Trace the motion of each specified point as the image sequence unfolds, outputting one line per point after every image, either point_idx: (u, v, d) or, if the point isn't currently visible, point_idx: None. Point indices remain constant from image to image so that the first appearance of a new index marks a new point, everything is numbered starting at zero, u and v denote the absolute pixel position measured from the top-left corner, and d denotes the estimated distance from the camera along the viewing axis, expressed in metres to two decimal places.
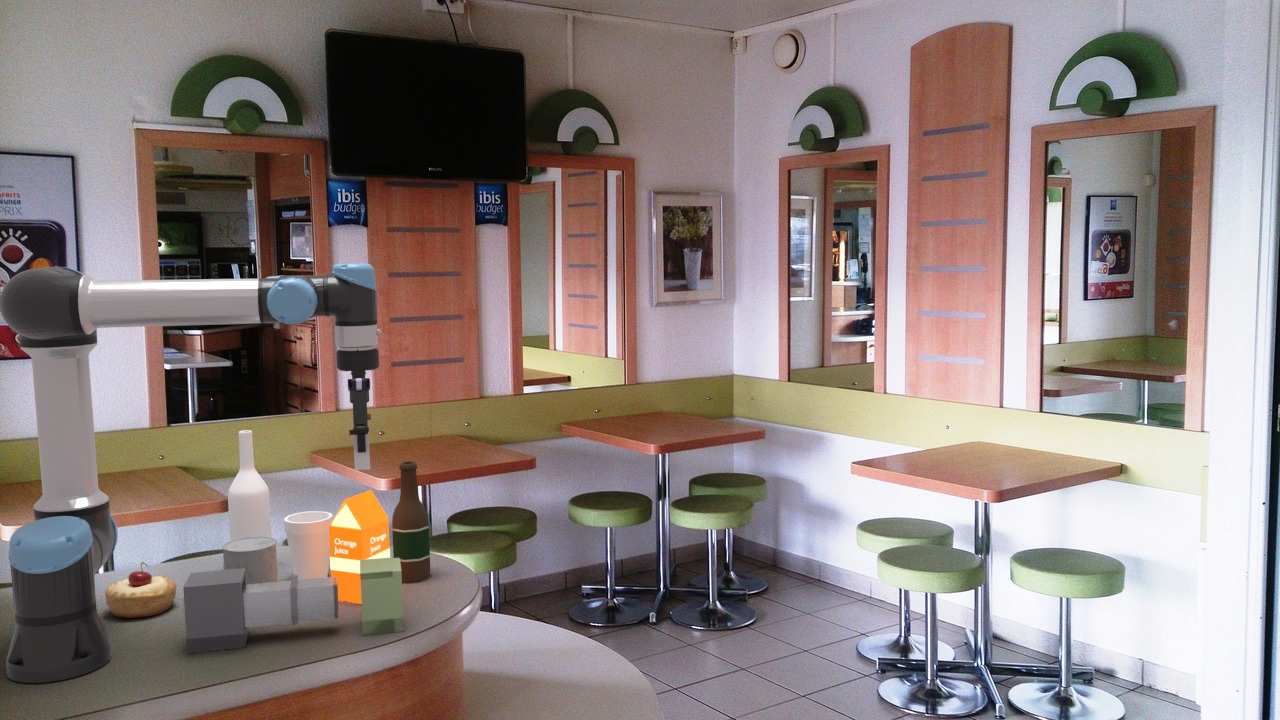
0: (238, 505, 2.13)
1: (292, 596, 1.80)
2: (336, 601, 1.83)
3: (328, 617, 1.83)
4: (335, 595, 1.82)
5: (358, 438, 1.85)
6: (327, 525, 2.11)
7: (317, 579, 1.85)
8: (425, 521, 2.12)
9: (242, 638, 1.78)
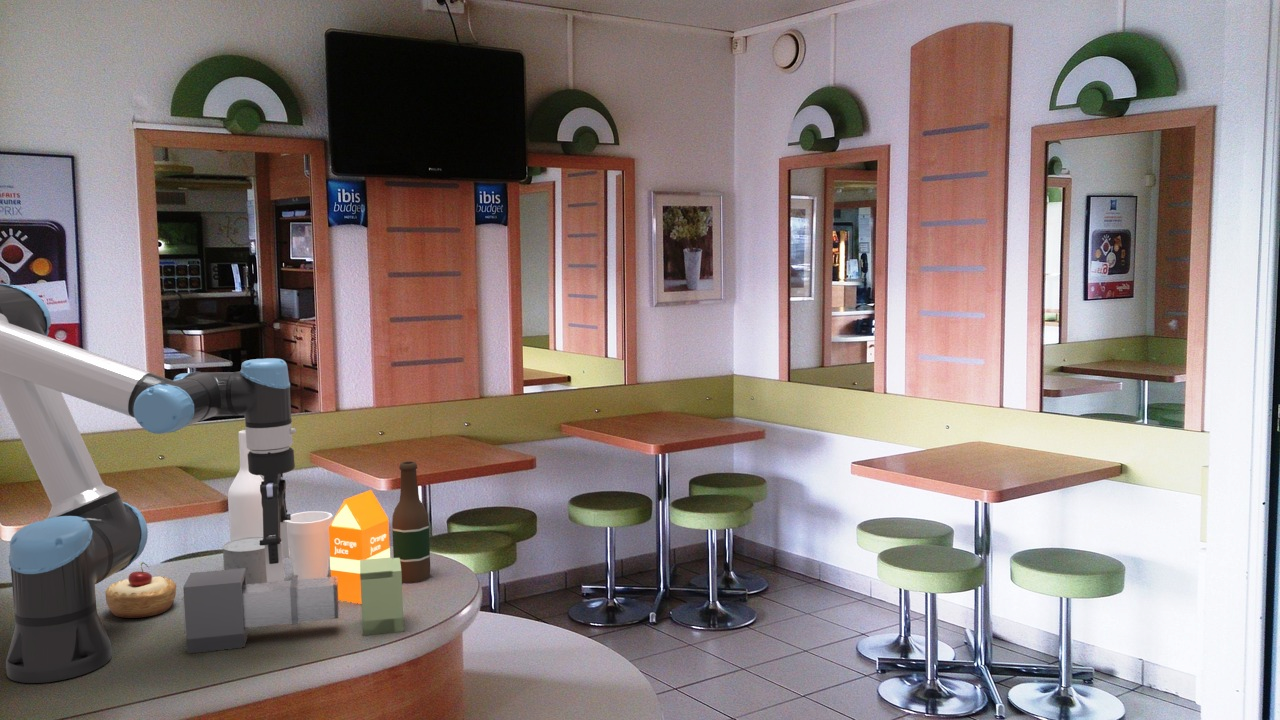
0: (238, 505, 2.13)
1: (292, 596, 1.80)
2: (336, 601, 1.83)
3: (328, 617, 1.83)
4: (335, 595, 1.82)
5: (269, 549, 1.73)
6: (327, 525, 2.11)
7: (317, 579, 1.85)
8: (425, 521, 2.12)
9: (242, 638, 1.78)
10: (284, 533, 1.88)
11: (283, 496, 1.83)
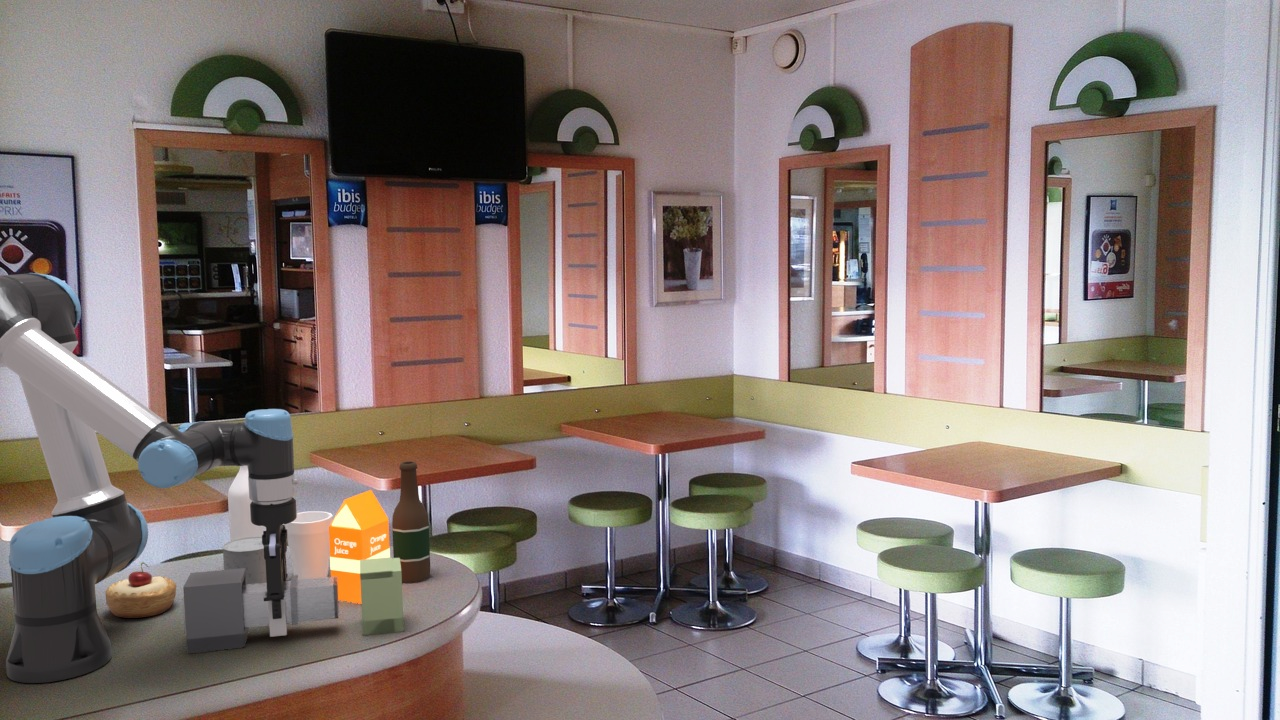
0: (238, 505, 2.13)
1: (292, 596, 1.80)
2: (336, 601, 1.83)
3: (328, 617, 1.83)
4: (335, 595, 1.82)
5: (273, 604, 1.78)
6: (327, 525, 2.11)
7: (317, 579, 1.85)
8: (425, 521, 2.12)
9: (242, 638, 1.78)
10: None
11: (284, 549, 1.83)
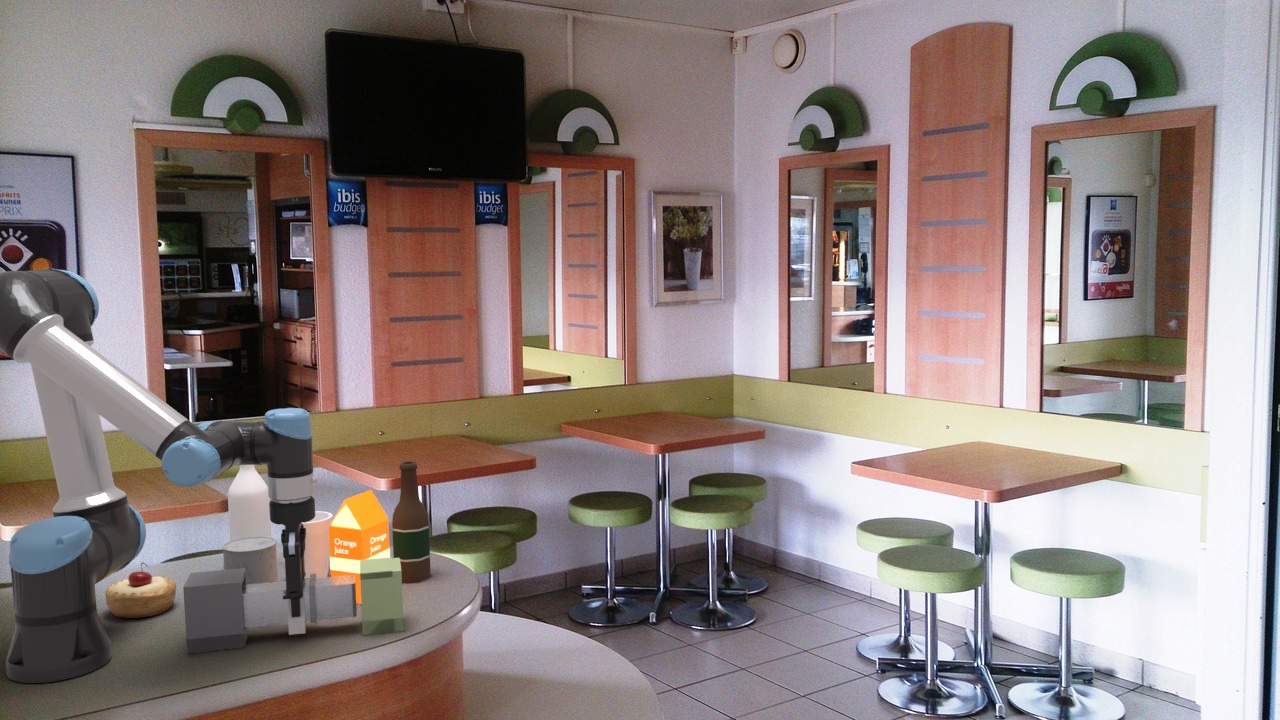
0: (238, 505, 2.13)
1: (311, 594, 1.80)
2: (354, 599, 1.83)
3: (347, 615, 1.83)
4: (353, 593, 1.83)
5: (292, 603, 1.79)
6: (327, 525, 2.11)
7: (335, 577, 1.86)
8: (425, 521, 2.12)
9: (242, 638, 1.78)
10: None
11: None
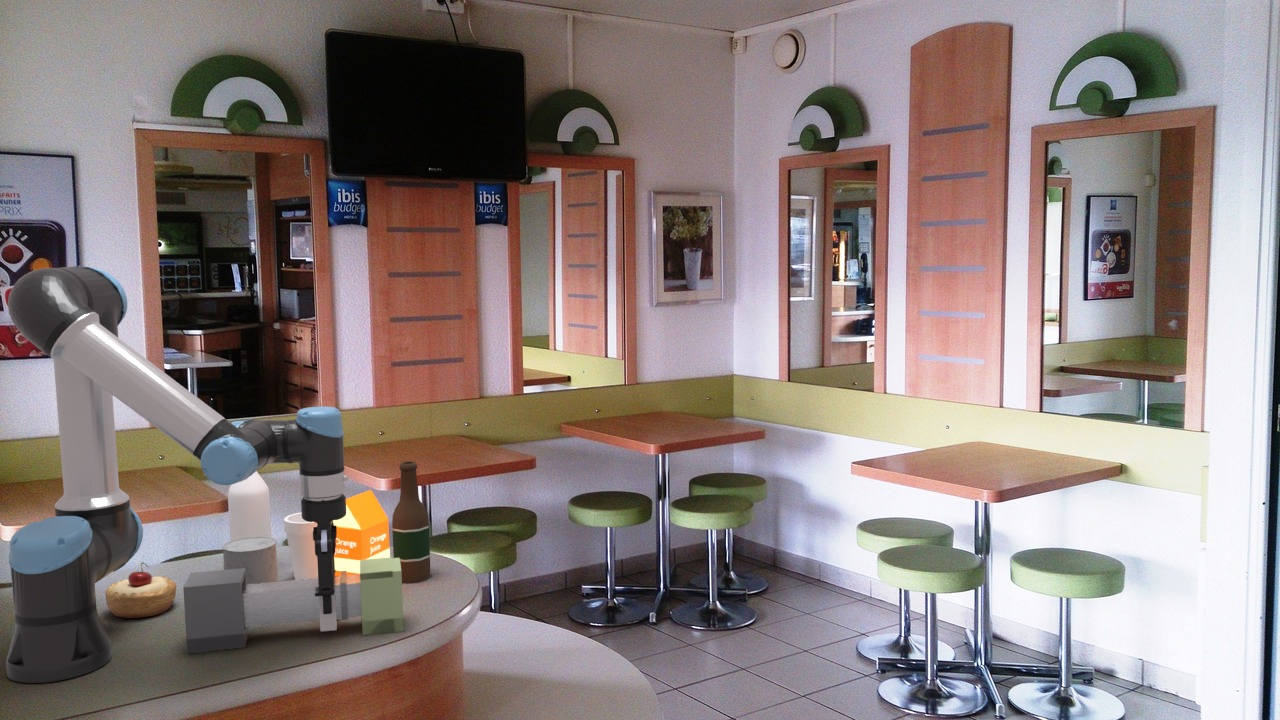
0: (238, 505, 2.13)
1: (342, 591, 1.82)
2: None
3: None
4: None
5: (324, 600, 1.80)
6: None
7: None
8: (425, 521, 2.12)
9: (242, 638, 1.78)
10: None
11: None
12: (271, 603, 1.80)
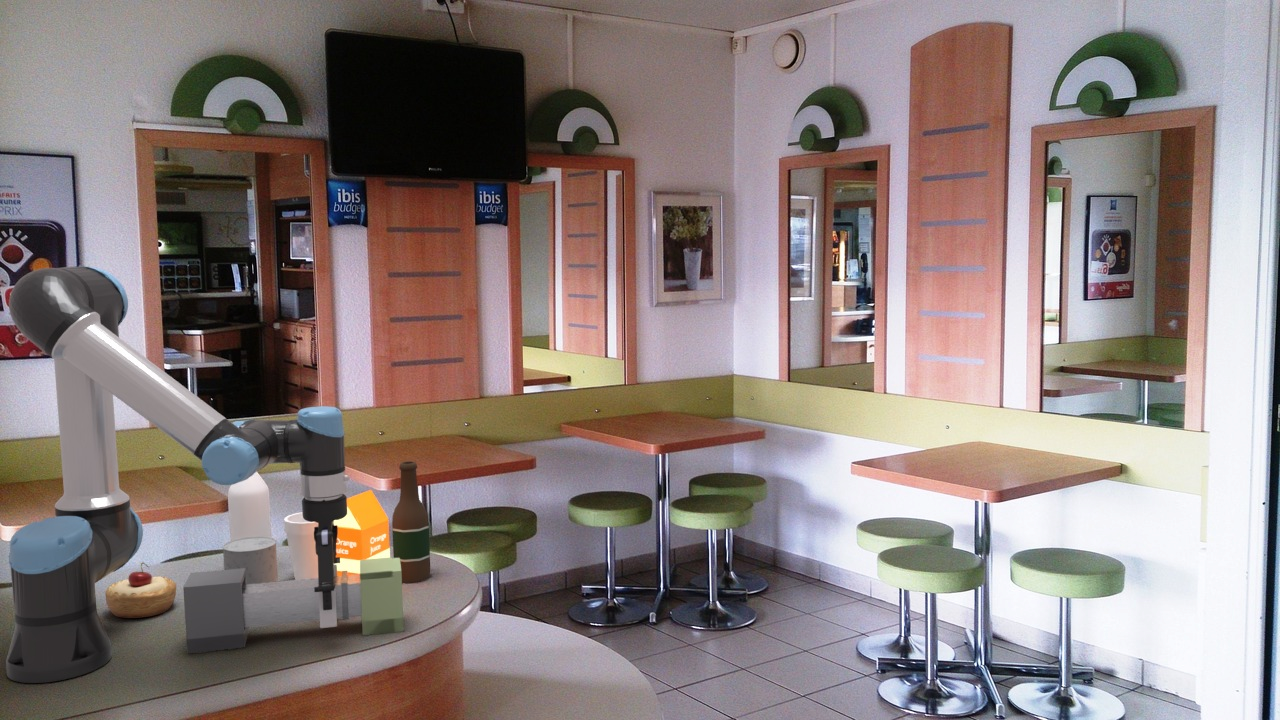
0: (238, 505, 2.13)
1: (343, 591, 1.82)
2: None
3: None
4: None
5: (324, 595, 1.76)
6: None
7: None
8: (424, 521, 2.12)
9: (242, 638, 1.78)
10: (334, 576, 1.91)
11: None
12: (272, 603, 1.80)
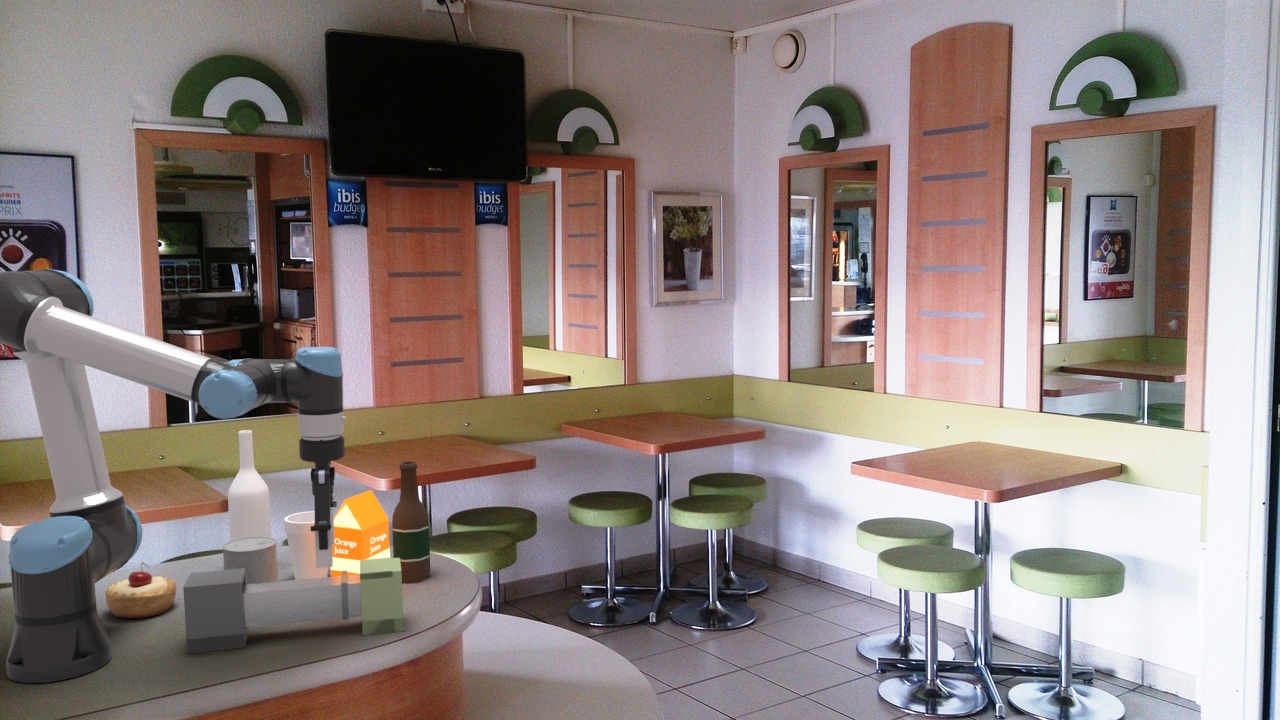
0: (238, 505, 2.13)
1: (343, 591, 1.82)
2: None
3: None
4: None
5: (320, 535, 1.75)
6: None
7: None
8: (425, 521, 2.12)
9: (242, 638, 1.78)
10: (330, 520, 1.90)
11: None
12: (272, 603, 1.80)
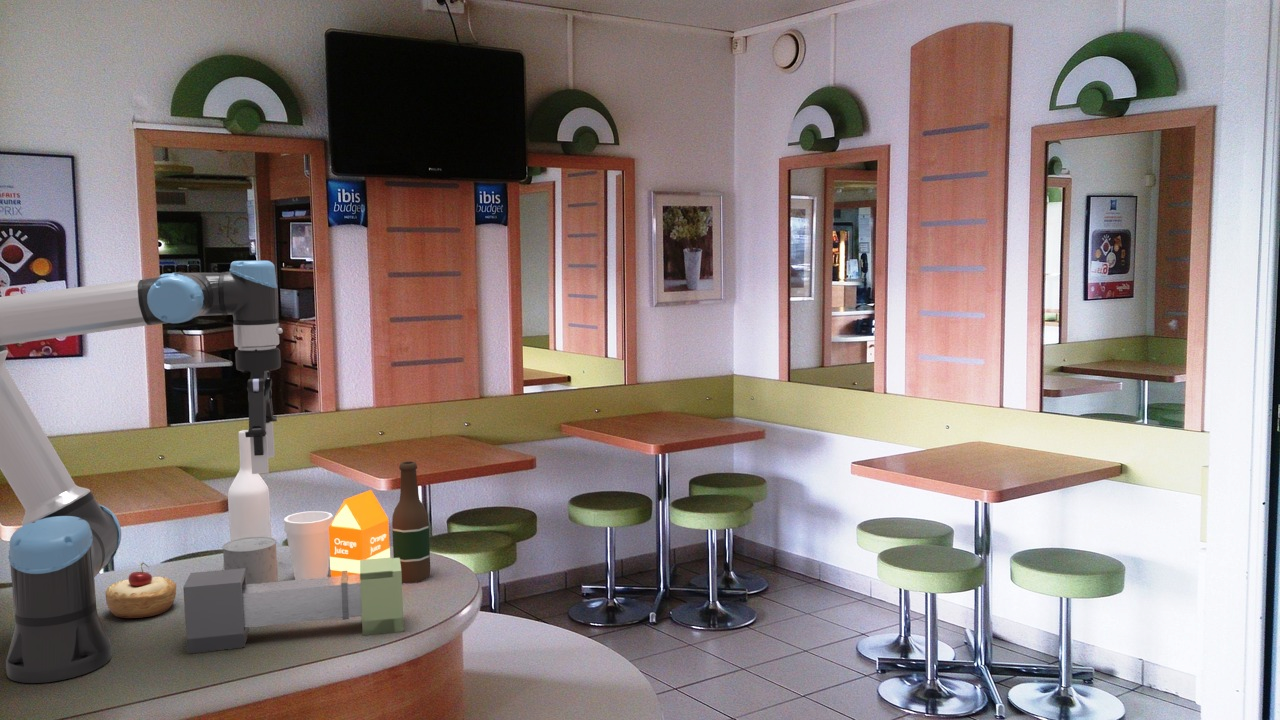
0: (238, 505, 2.13)
1: (343, 591, 1.82)
2: None
3: None
4: None
5: (255, 440, 1.79)
6: (327, 525, 2.11)
7: None
8: (424, 521, 2.12)
9: (242, 638, 1.78)
10: (270, 433, 1.94)
11: (269, 395, 1.90)
12: (272, 603, 1.80)
